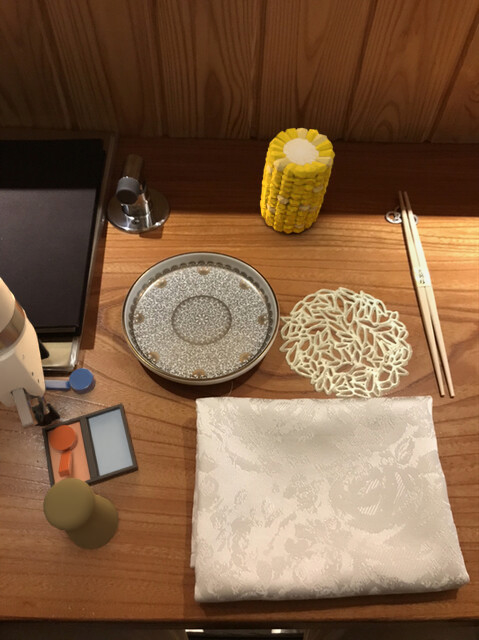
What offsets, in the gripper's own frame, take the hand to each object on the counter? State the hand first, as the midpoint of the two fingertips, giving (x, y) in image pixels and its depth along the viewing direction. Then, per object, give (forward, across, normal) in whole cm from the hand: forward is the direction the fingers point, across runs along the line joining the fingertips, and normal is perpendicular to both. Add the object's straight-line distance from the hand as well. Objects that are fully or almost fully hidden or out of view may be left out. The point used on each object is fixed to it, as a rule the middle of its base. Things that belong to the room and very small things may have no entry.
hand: (43, 388), depth 73 cm
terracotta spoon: (+1, +10, +1) cm, 10 cm away
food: (+2, -18, +42) cm, 46 cm away
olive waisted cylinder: (+2, +18, +3) cm, 19 cm away
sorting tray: (+2, +10, +4) cm, 10 cm away
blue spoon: (+2, 0, +3) cm, 3 cm away
